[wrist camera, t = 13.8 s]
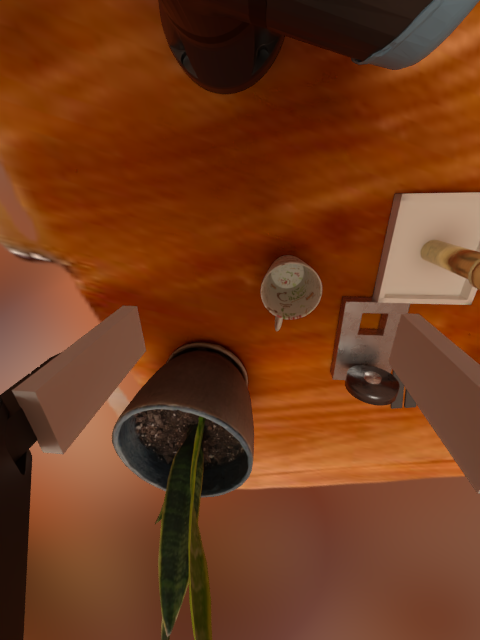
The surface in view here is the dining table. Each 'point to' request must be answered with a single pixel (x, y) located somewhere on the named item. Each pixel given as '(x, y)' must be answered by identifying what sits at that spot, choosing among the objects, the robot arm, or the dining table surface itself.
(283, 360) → the dining table surface
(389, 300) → the tray
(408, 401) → the pair of grey strips
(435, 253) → the pin
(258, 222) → the dining table surface
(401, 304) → the block
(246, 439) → the potted plant
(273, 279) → the mug
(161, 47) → the dining table surface
